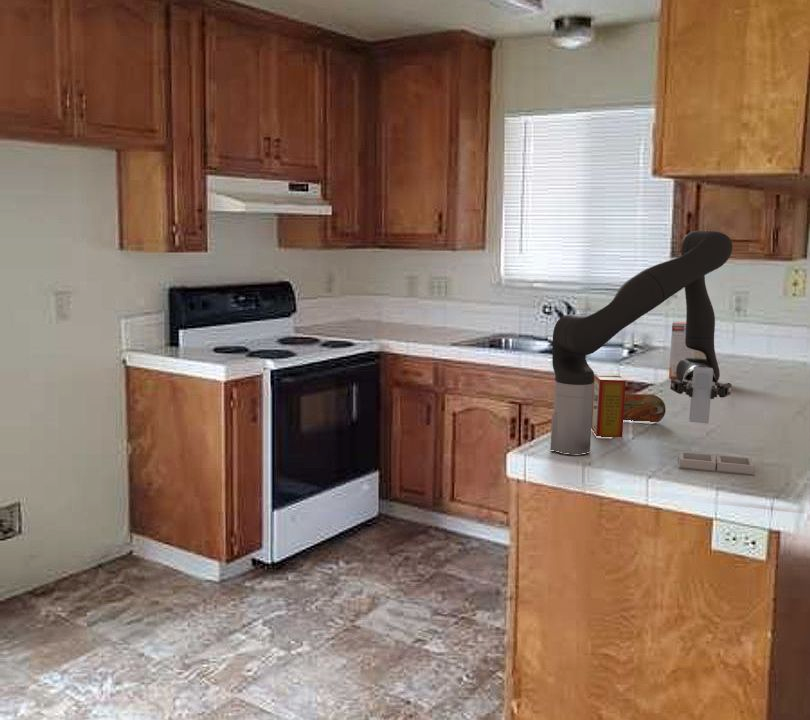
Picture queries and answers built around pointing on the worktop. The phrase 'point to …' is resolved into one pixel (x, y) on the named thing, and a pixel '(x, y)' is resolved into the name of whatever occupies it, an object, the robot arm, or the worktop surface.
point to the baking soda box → (608, 405)
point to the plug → (701, 395)
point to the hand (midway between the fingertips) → (701, 393)
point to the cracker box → (680, 348)
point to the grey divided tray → (716, 463)
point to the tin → (643, 407)
